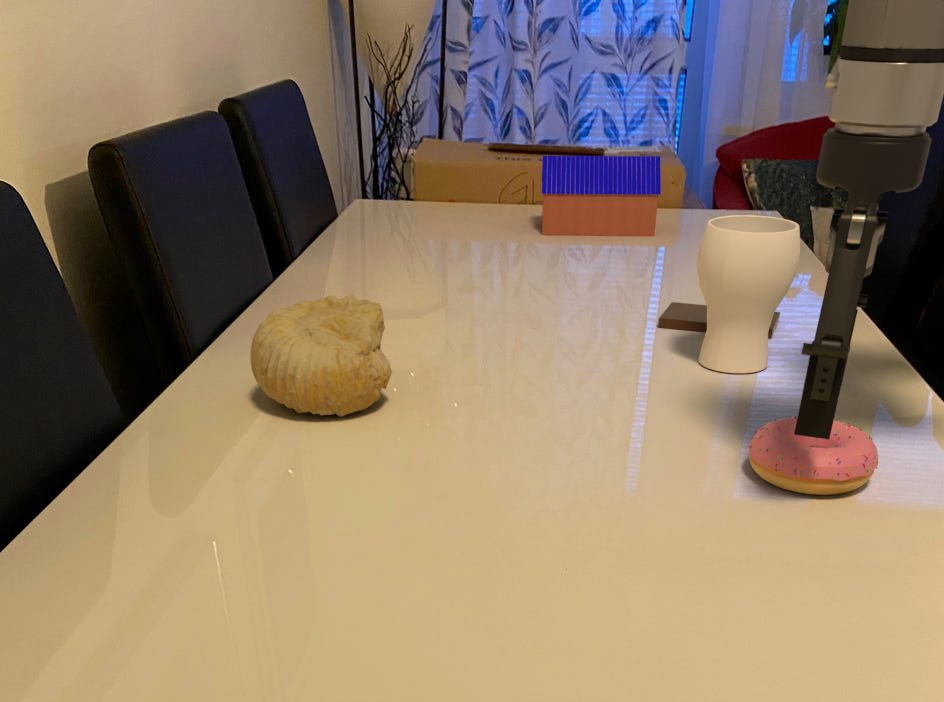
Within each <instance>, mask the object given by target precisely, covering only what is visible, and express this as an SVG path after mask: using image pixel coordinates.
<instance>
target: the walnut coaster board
mask: <svg viewBox="0 0 944 702" xmlns="http://www.w3.org/2000/svg"><path fill="white" fill-rule="evenodd" d="M780 318H781V312H780V311H774V315H773V318H772V321H771V325H770V328H769V331H768V340H771V339H773V336H774V334H775V331H776V329H777V326H778V325H779V323H780ZM657 327H658V328H662V329H670V330H671V329H672V330H679V331H690V332H700V333H706V331H707V305H706V304H698V303H696V304H695V303H688V302H687V303H686V302H678V301H677V302H675V301H671V302H670V304H669V305H668V306H667V308H666V309H665V310H664V311H663V313H662V314H661V315H660V316H659V318H658V325H657Z"/></svg>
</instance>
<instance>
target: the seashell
mask: <svg viewBox="0 0 944 702" xmlns="http://www.w3.org/2000/svg"><path fill="white" fill-rule="evenodd" d="M385 329H386V326H385V319H384V312H383V308H382V305H381V304H380V302H375V301H371V300H370V299H368V298H363V299H357V297H356V296H355V294H348V295H346V296H344V297H341V298H338V297H336V296H335V295H327V296H325V297H323V298H316V299H314V300H302V301H299V302H295V303H294V304H292V305H287V306H285V307H283V308H281V309H280V308H273V309H272V310H271V311H270V313H269V314H268V315H267V316H266V318H265V319H264V320H263V321H262V322H261V323H260V324H259V325H258V327H257V328H256V331H255V333H254V335H253V337H252V341H251V346H250V357H249V358H250V368H251V372H252V374H253V378H254V379H255V381H256V383H257V384H258V386H259V388H261V390H262V391H263V392H264V394H266V395H267V396H268V397H269V398H271V400H273V401H274V402H276V403H277V404H279V405H284V406H285V407H286V408H288V409H293V411H295V412H296V413H298V414H303V413H304V414H308V413H311V414H312V415H320V416H331V415H336V416H338V417H339V418H342V417H344V416H346V415H349V414H353V413H356V412H358V411H361V412H362V411H364V410H367V409H369V407H370V406H372V405H373V404H374V403H376V402H378V401H379V400H380V399H381V398H382V397H381V391H382V389H384V390H386V389H387V387H388V386H387V385H388V383H389V382H390V379H391V378H392V374H393V370H392V368H391V362H390V360H389V359H388V358H387V356H386V355H385V354H384V352H383V350H382V349H381V346H382V339H383V334H384V331H385Z"/></svg>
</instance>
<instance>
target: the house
mask: <svg viewBox="0 0 944 702" xmlns="http://www.w3.org/2000/svg"><path fill="white" fill-rule="evenodd" d="M661 189H662V188H661V156H660V155H542V167H541V194H542V212H541V214H542V215H541V217H542V218H541V235H542V236H634V237H635V236H636V237H637V236H638V237H639V236H640V237H642V236H643V237H647V236H648V237H649V236H650V237H654V236H655V235H656V225H657V224H656V223H657V214H658V213H657V212H658V205H659V204H658V203H659V195H662V194H661Z"/></svg>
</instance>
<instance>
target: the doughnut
mask: <svg viewBox="0 0 944 702" xmlns="http://www.w3.org/2000/svg"><path fill="white" fill-rule="evenodd" d="M797 418H798V416H796V415H795V414H794V415H793V417H792V415H790V416H789V417H784V418H779V419H776V418H775V419H774V420H773V421H770V422H764V425H762V426H761V427H760V428H758V429H755V433H753V434H754V435H753V437H752V438H751V439H750V442H749V443H748V447H747V449H748V452H749V456H748V459H749V463H750V466H751V468H752V469H753V470H754V472H755V473H756V474H757V475H758V476H759V477H760V478H761V479H762V480H764V481H765V482H768V483H769V484H771V485H773V486H775V487H778V488H781V489H783V490H786V491H790V492H794V493H799V494H806V495H814V496H815V495H816V496H817V495H818V496H827V495H838V494H843V493H848V492H851V491H855V490H857V489H858V488H860V487H862V486H864V485H865V484H866V483H867V482H869V480H871V479H872V477H873V475H874V473H875V470H878V468H879V467H878V465H879V454H878V448H877V445H876V444H875V442H874V440H873V437H872V438H871V436H869V435H868V434H866V432H864V431H863V430H862V427H860V428H857V427H856V426H853V425H851V424H850V422H843V421H839V420H834V421H833V425H832V430H831V434H830V439H822V438H815V437H808V436H801V435H794V432H795V427H796V423H797Z"/></svg>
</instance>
